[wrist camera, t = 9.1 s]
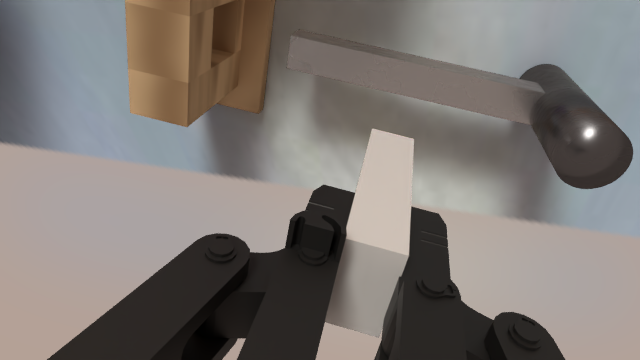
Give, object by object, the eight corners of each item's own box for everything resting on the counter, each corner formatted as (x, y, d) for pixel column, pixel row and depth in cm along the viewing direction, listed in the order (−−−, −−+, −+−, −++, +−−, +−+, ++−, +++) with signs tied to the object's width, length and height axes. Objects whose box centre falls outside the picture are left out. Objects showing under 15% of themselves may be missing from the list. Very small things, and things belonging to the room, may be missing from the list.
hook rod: (304, 58, 36) (254, 109, 26) (311, 11, 34) (261, 45, 24) (556, 116, 34) (611, 196, 24) (577, 70, 32) (647, 134, 22)
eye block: (176, 87, 40) (104, 133, 31) (178, -96, 33) (85, -105, 24) (262, 109, 39) (214, 161, 30) (283, -74, 32) (228, -76, 23)
